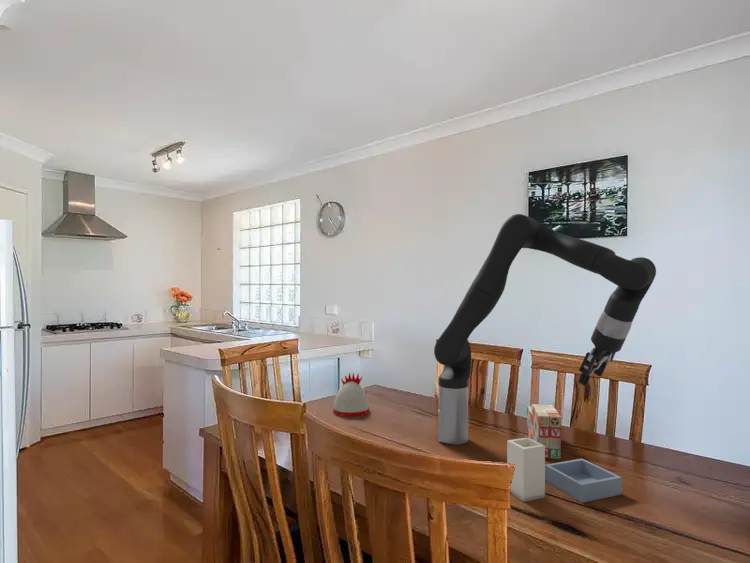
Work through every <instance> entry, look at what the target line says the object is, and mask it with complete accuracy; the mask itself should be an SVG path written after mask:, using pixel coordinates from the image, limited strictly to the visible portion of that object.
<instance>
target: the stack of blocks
mask: <svg viewBox="0 0 750 563" xmlns="http://www.w3.org/2000/svg"><path fill="white" fill-rule="evenodd" d="M526 417H527V418H526V420H527V424H526V425H527V426H526V428H527V435H528V438H530V439H532V440H534V441H536V442H538V443H540V444H542V445H544V446H545V459H552V460H553V459H554V460H561V459H562V449H561V448H562V446H561V445H562V416H561V415H560V413H559V412H558V411H557V409H556V408H555V407H554V406H553V405H552V404H535V403H532V404H531V405H526Z"/></svg>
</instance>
